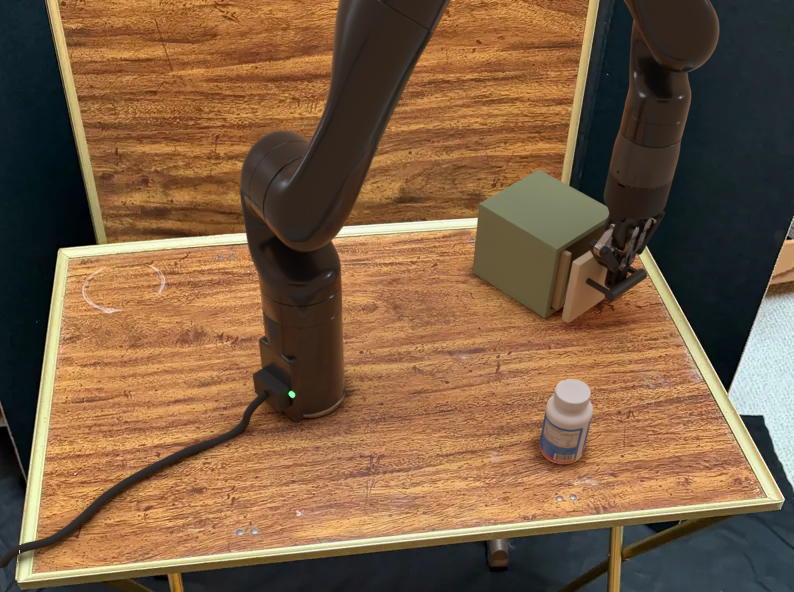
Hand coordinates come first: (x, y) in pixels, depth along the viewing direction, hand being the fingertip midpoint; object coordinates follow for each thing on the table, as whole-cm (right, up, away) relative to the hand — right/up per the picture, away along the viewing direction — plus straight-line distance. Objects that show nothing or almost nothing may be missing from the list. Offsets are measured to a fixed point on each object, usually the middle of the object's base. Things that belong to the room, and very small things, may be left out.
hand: (613, 287), depth 128 cm
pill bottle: (-9, -22, -11) cm, 26 cm away
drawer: (-4, +1, +6) cm, 7 cm away
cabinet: (-9, +4, +9) cm, 13 cm away
